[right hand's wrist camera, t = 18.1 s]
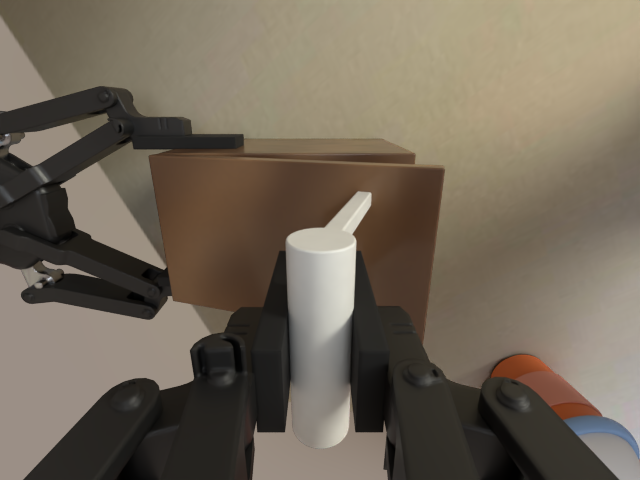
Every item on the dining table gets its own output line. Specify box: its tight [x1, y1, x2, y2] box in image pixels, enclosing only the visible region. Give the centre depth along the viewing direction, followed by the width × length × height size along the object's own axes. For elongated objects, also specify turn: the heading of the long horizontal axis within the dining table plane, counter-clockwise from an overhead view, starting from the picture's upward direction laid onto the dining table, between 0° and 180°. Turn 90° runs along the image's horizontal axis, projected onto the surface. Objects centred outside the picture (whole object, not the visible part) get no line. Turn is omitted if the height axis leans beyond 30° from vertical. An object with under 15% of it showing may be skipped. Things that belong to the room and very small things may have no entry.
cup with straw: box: [491, 355, 640, 480], centre depth 31 cm, size 9×9×18 cm
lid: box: [149, 154, 445, 449], centre depth 15 cm, size 15×9×9 cm, turn 90°
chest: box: [159, 139, 415, 164], centre depth 27 cm, size 15×9×11 cm, turn 90°
